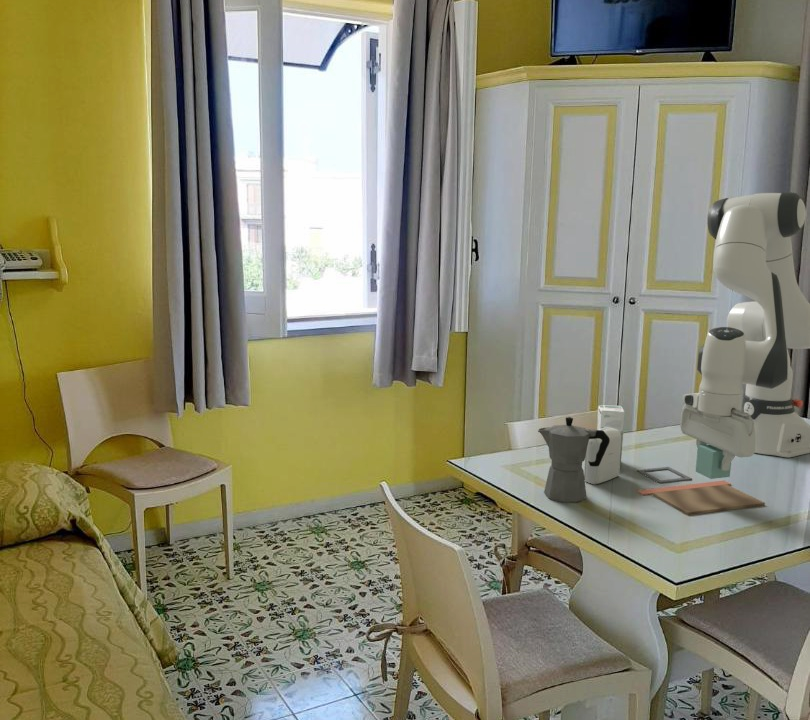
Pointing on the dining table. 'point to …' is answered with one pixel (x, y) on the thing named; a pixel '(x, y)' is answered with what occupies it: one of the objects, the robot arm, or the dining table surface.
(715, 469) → the teal block
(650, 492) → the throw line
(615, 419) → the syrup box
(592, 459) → the photo printer
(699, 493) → the board
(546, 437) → the coffeepot
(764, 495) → the dining table surface
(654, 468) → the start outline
